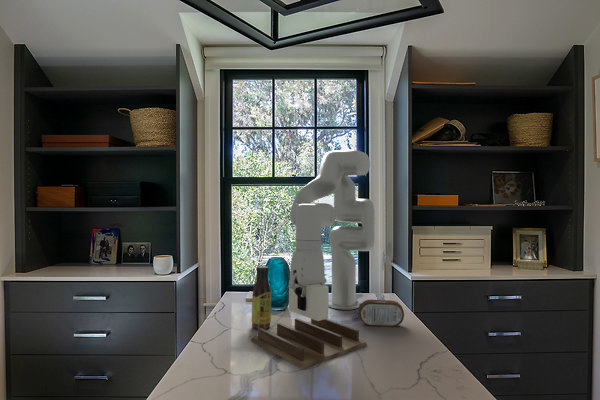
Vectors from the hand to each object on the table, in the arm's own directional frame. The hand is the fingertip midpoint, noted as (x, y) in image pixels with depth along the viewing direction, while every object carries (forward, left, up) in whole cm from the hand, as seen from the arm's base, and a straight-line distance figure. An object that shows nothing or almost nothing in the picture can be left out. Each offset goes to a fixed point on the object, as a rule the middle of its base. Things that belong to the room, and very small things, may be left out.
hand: (307, 307), depth 109 cm
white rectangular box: (0, 0, -2) cm, 2 cm away
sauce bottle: (+3, -20, -11) cm, 23 cm away
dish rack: (0, 0, -10) cm, 11 cm away
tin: (-29, +4, -11) cm, 31 cm away
